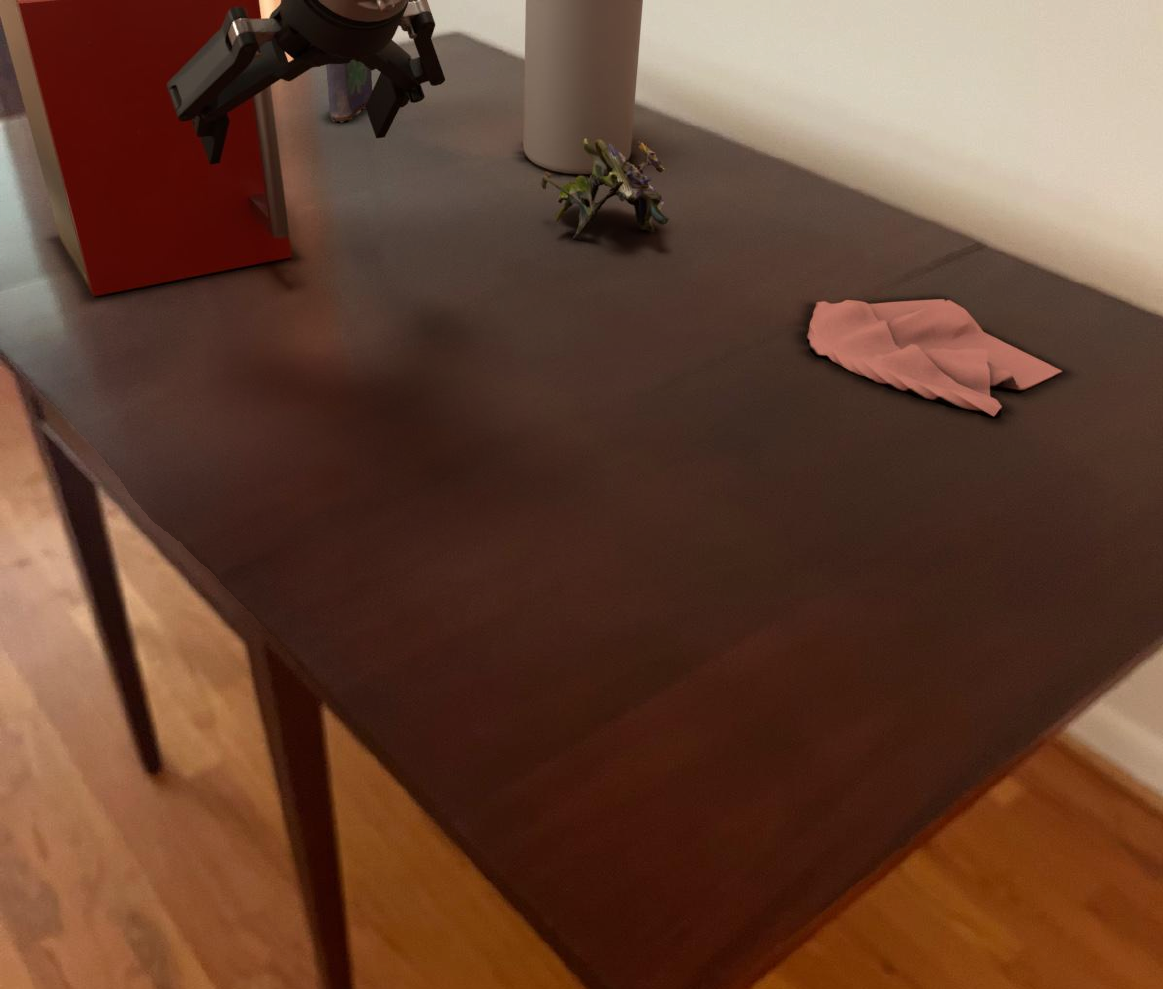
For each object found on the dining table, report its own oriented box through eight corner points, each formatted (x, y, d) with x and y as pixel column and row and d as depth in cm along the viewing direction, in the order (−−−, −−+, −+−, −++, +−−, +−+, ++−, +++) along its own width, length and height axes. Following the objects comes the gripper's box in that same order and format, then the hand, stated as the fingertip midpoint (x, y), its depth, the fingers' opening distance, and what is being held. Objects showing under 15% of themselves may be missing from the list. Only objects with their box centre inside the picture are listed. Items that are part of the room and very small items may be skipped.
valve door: (316, 285, 104) (284, 1, 89) (112, 328, 97) (36, 26, 81) (288, 253, 109) (252, -22, 93) (91, 292, 101) (15, -1, 85)
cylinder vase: (646, 171, 129) (668, -76, 113) (543, 181, 126) (550, -73, 109) (607, 132, 138) (622, -103, 121) (509, 140, 134) (511, -101, 118)
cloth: (785, 300, 107) (789, 276, 106) (1005, 300, 109) (1013, 277, 108) (841, 419, 92) (847, 394, 90) (1096, 417, 94) (1106, 392, 93)
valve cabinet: (287, 253, 109) (251, -25, 93) (90, 292, 102) (14, -4, 85) (246, 206, 117) (206, -59, 101) (60, 239, 109) (-16, -42, 93)
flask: (345, 124, 136) (337, 28, 128) (323, 120, 136) (313, 25, 129) (378, 100, 142) (371, 8, 135) (356, 97, 143) (349, 5, 136)
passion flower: (636, 277, 121) (699, 211, 111) (551, 280, 115) (610, 210, 105) (603, 186, 123) (661, 113, 113) (518, 184, 117) (572, 107, 107)
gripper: (169, 51, 64) (150, 206, 84) (548, 8, 75) (453, 155, 94) (125, -75, 64) (115, 110, 84) (511, -101, 75) (423, 69, 94)
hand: (294, 134), depth 89 cm, fingers open, 13 cm apart
